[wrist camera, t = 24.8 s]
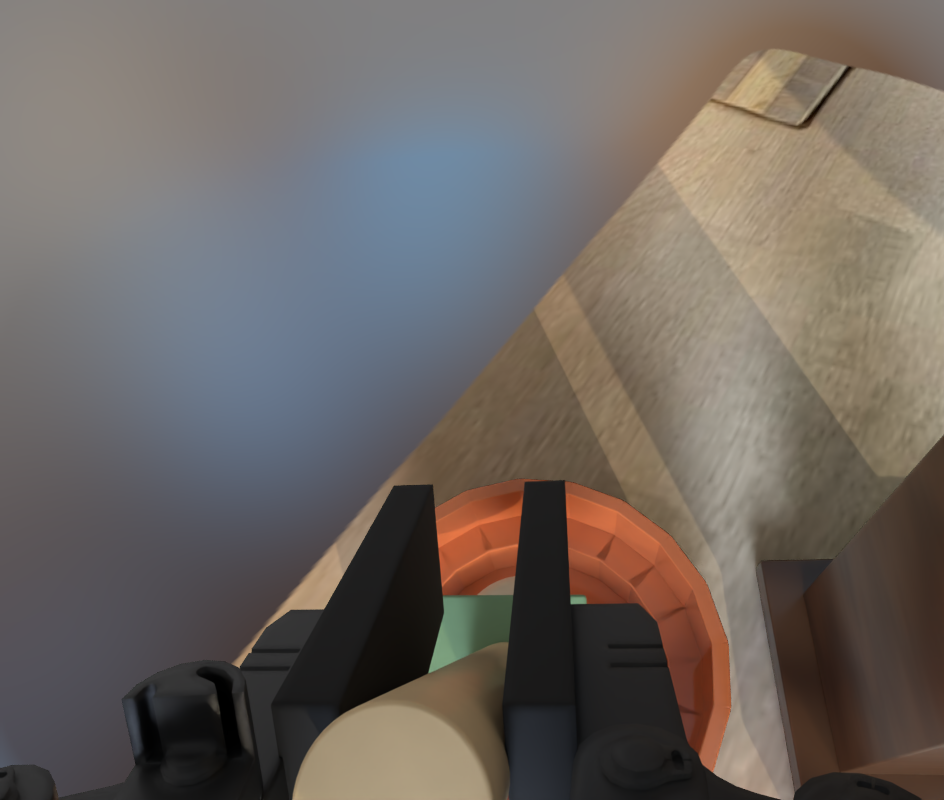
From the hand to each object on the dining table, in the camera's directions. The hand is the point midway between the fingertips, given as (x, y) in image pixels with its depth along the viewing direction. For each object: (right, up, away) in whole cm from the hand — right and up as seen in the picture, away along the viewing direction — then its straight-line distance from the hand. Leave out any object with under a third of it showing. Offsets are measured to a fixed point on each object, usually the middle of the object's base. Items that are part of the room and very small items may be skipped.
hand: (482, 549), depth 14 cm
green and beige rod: (0, -6, +2) cm, 6 cm away
